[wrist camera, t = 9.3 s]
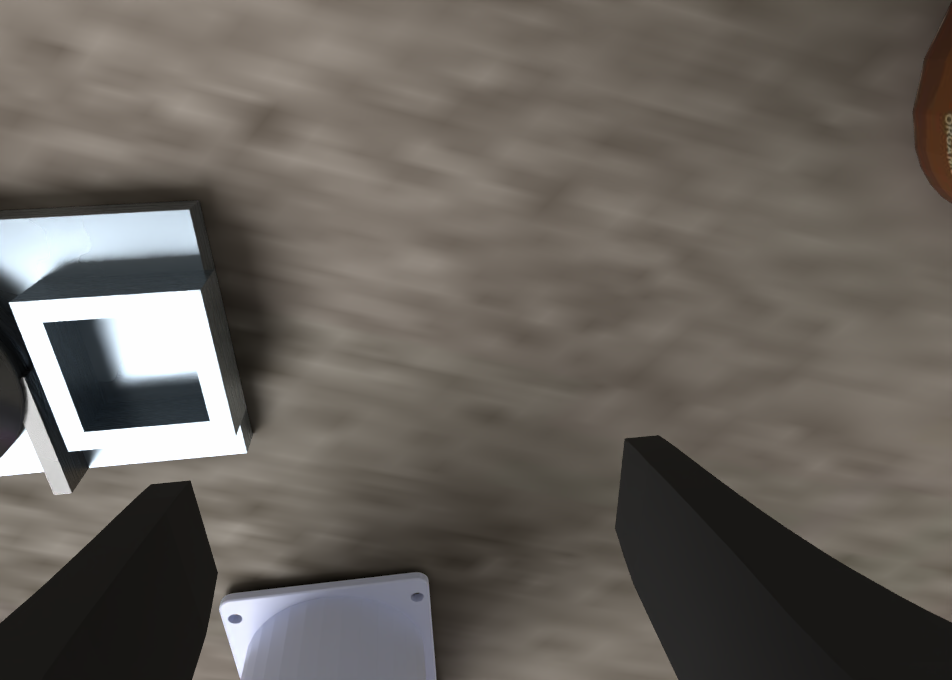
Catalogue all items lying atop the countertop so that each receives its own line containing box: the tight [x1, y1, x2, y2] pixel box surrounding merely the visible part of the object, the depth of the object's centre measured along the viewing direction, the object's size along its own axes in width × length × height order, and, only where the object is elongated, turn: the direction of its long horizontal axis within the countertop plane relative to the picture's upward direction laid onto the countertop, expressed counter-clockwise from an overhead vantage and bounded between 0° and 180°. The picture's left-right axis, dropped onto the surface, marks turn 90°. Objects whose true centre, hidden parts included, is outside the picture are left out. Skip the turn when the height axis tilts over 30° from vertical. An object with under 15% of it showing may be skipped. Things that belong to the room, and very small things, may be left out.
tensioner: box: [0, 200, 253, 495], centre depth 17 cm, size 8×11×2 cm
